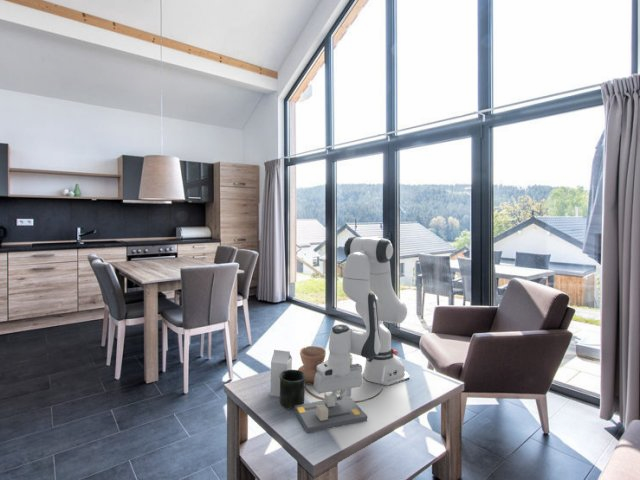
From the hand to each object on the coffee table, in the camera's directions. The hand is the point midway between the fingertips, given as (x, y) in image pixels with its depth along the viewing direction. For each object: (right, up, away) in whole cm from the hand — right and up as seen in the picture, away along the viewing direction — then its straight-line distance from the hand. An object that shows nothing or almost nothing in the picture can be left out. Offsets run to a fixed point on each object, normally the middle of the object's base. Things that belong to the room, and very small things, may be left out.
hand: (337, 399), depth 151 cm
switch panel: (-3, -4, -5) cm, 7 cm away
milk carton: (-24, -2, +11) cm, 27 cm away
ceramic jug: (-10, -2, +24) cm, 26 cm away
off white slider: (-3, -2, -1) cm, 4 cm away
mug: (-19, -3, +5) cm, 20 cm away
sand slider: (-6, -2, -11) cm, 13 cm away
